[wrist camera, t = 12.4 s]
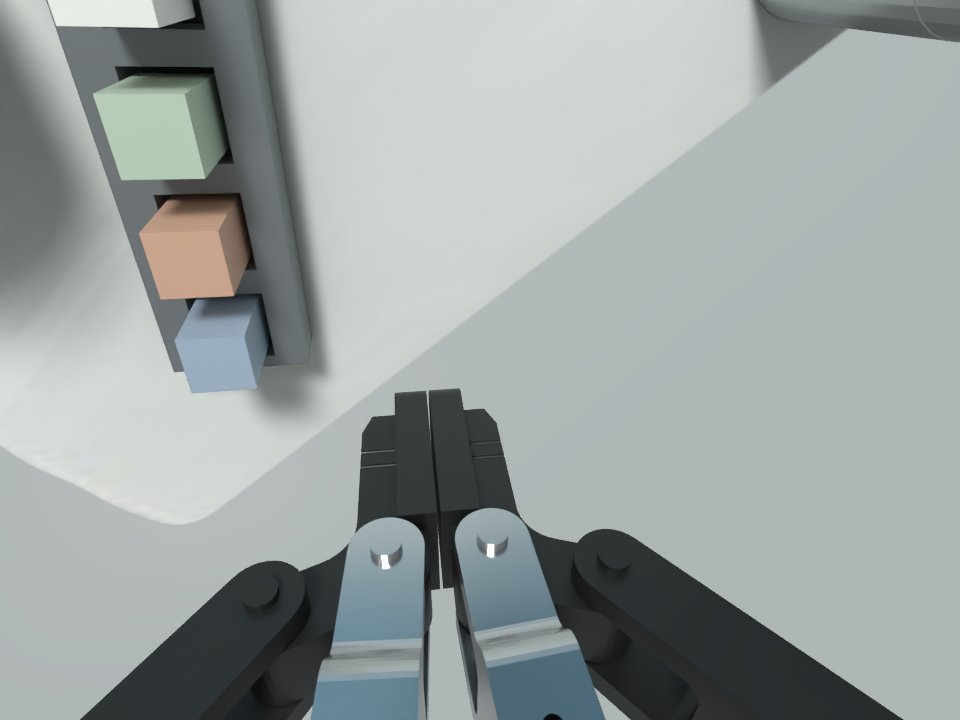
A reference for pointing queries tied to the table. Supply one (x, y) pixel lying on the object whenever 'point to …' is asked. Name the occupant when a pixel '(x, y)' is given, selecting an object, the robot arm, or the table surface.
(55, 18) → the ivory key
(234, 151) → the grey long flat block
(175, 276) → the terracotta key
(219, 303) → the slate key
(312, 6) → the table surface
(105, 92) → the sage key
